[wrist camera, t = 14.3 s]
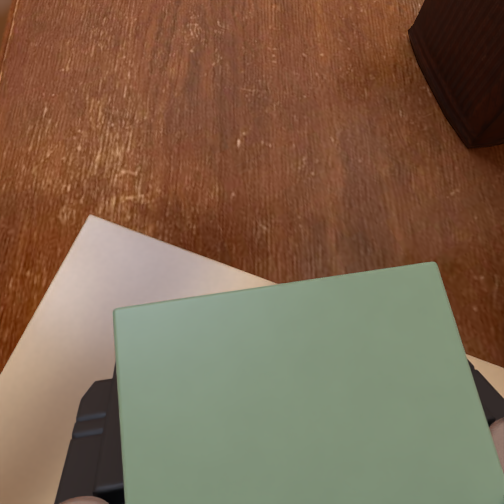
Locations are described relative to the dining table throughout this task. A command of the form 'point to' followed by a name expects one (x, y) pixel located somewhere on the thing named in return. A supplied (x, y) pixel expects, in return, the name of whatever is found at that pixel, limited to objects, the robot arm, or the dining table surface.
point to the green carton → (303, 396)
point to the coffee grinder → (464, 64)
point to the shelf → (95, 344)
